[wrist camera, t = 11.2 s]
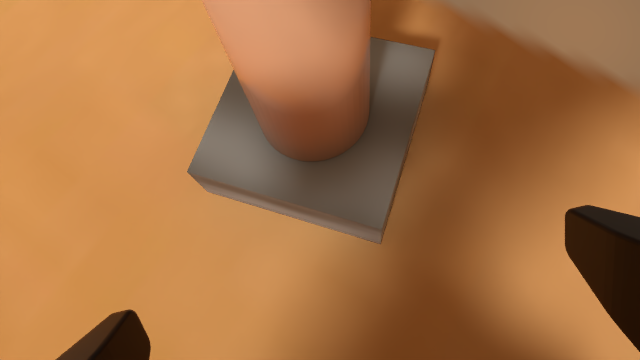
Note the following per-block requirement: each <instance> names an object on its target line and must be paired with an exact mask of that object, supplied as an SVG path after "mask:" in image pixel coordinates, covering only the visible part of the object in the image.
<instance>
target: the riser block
mask: <svg viewBox="0 0 640 360" xmlns="http://www.w3.org/2000/svg"><path fill="white" fill-rule="evenodd" d="M434 53H435V50H432V49H427V48H422V47H417V46H412V45H407V44H403V43H398V42H393V41H388V40H383V39H378V38H373V37H370V99H369V119H368V123H367V126H366V128H365V130H364V132H363V134H362V135H361V137H360V138H359V140H358V141H357V142H356V143H355V144H354V145H353V146H352V147H351V148H349V149H348V150H347V151H345V152H344V153H342V154H340V155H338V156H336V157H333V158H331V159H327V160H323V161H300V160H296V159H292V158H290V157H287V156H285V155H283V154H281V153H280V152H278V151H277V150H276V149H275V148H274V147H272V146H271V145H270V143H269V142H268V141H267V139H266V138H265V136H264V134H263V132H262V130H261V128H260V125H259V123H258V121H257V119H256V117H255V115H254V112H253V110H252V108H251V106H250V104H249V102H248V99H247V97H246V95H245V93H244V91H243V89H242V86H241V84H240V82H239V80H238V78H237V76H236V73H235V71H234V70H233V72H232V75H231V77H230V79H229V81H228V83H227V86H226V88H225V90H224V92H223V94H222V96H221V99H220V101H219V103H218V105H217V107H216V110H215V112H214V114H213V116H212V118H211V121H210V123H209V125H208V127H207V129H206V131H205V134H204V136H203V138H202V140H201V142H200V145H199V147H198V149H197V151H196V153H195V155H194V158H193V160H192V162H191V164H190V166H189V169H188V171H187V172H188V173H189V174H190V175H191V176H192V177H193V178H194V179H195V180H196V181H197V182H198V183H199V184H200V185H201V186H202V187H203V188H204V189H205V190H206V191H207V192H211V193H214V194H217V195H221V196H224V197H227V198H230V199H234V200H237V201H240V202H244V203H247V204H250V205H254V206H257V207H260V208H263V209H267V210H270V211H273V212H277V213H280V214H283V215H286V216H290V217H293V218H296V219H300V220H303V221H306V222H310V223H313V224H316V225H319V226H323V227H326V228H329V229H333V230H336V231H339V232H343V233H346V234H349V235H352V236H356V237H359V238H362V239H366V240H369V241H372V242H375V243H379V244H381V241H382V237H383V234H384V230H385V227H386V224H387V220H388V217H389V213H390V210H391V207H392V203H393V200H394V197H395V193H396V190H397V186H398V183H399V180H400V176H401V173H402V169H403V166H404V163H405V159H406V156H407V152H408V149H409V146H410V142H411V139H412V136H413V132H414V129H415V125H416V122H417V119H418V115H419V112H420V108H421V105H422V102H423V98H424V95H425V91H426V88H427V85H428V81H429V76H430V72H431V67H432V62H433V58H434Z"/></svg>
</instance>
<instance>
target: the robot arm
mask: <svg viewBox="0 0 640 360" xmlns="http://www.w3.org/2000/svg"><path fill="white" fill-rule="evenodd" d="M565 247H566V251H567V253H568V255H569V257H570V258H571V260H572V261H573V263H574V264H575V266H576V267H577V269H578V270H579V272H580V273H581V275H582V276H583V278H584V279H585V281H586V282H587V284H588V285H589V286H590V288H591V289H592V291H593V292H594V294H595V295H596V297H597V298H598V300H599V301H600V303H601V304H602V306H603V307H604V309H605V310H606V311H607V313H608V314H609V315H610V317H611V318H612V319H613V321H614V322H615V323H616V324H617V326H618V327H619V328H620V329H621V330H622V332H623V333H624V334H625V335H626V336H627V337H628V339H629V340H630V341H631V342H632V343H633V345H634V346H635V347H636V348H637V349H638V350H639V352H640V217H637V216H633V215H628V214H624V213H620V212H616V211H612V210H608V209H603V208H599V207H595V206H591V205H585V206H580V207H576V208H572V209H569V210H568V211H567V212H566V214H565ZM150 349H151V347H150V340H149V338H148V335H147V333H146V331H145V329H144V327H143V325H142V323H141V321H140V319H139V317H138V315H137V314H136V312H135V311H133V310H125V311H120V312H116V313H113V314H111V315H109V316H108V317H107V318H106V319H105V320H103V321H102V322H101V323H100V324H99V325H97V326H96V327H95V328H94V329H92V330H91V331H90V332H89V333H88V334H86V335H85V336H84V337H83V338H82V339H80V340H79V341H78V342H77V343H75V344H74V345H73V346H72V347H71V348H69V349H68V350H67V351H66V352H64V353H63V354H62V355H61V356H60V357H58V358H57V359H56V360H149V357H150Z"/></svg>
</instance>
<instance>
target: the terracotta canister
mask: <svg viewBox="0 0 640 360" xmlns="http://www.w3.org/2000/svg"><path fill="white" fill-rule="evenodd" d="M202 2H203V4H204V6H205V8H206V10H207V13H208V15H209V17H210V19H211V21H212V23H213V26H214V28H215V30H216V32H217V34H218V36H219V39H220V41H221V43H222V45H223V47H224V50H225V52H226V54H227V56H228V58H229V60H230V63H231V65H232V67H233V69H234V71H235V73H236V76H237V78H238V80H239V82H240V84H241V86H242V89H243V91H244V93H245V95H246V97H247V99H248V102H249V104H250V106H251V108H252V110H253V112H254V115H255V117H256V119H257V121H258V123H259V125H260V128H261V130H262V132H263V134H264V136H265V138H266V139H267V141H268V142H269V143H270V145H271V146H272V147H274V148H275V149H276V150H277V151H278V152H280V153H281V154H283V155H285V156H287V157H290V158H292V159H296V160H300V161H323V160H327V159H331V158H333V157H336V156H338V155H340V154H342V153H344V152H345V151H347V150H348V149H349V148H351V147H352V146H353V145H354V144H355V143H356V142H357V141H358V140H359V138H360V137H361V135H362V134H363V132H364V130H365V128H366V126H367V123H368V119H369V99H370V27H371V0H202Z"/></svg>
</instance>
